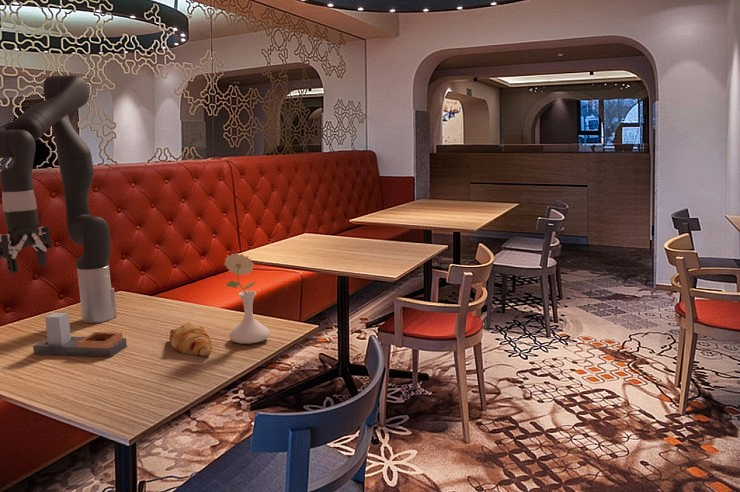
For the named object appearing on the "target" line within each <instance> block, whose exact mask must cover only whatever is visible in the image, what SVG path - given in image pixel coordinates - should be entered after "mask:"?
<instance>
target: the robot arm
mask: <svg viewBox="0 0 740 492" xmlns="http://www.w3.org/2000/svg"><path fill="white" fill-rule="evenodd" d="M89 88H90V87H89V85H88V83H87V82H86V80H85V78H83V77H81V76H80V75H77V74H75V75H74V74H68V75H67V74H66V75H65V74H64V75H52V76H51V75H50V76H47V77H46V78H45V79H44V82H43V86H42V89H43V96H44V101H42V102H39V103H36V104H35V105H32V106H30V107H29V108H27V109H26V110H25V111H24V112H22V113H21V114H20V115H19V116H18V117H16V118H15V120H14V119H13V120H12V121H9V122H7V123H4V124H3V125H1V126H0V158H1V159H14V161H13V164H12V166H9V167H6V168H3V169H1V170H0V185H1V195H2V197H1V199H2V209H3V216H4V224H5V227H6V228H7V233H5V234H3V233H2V234H0V258H1V259H5V260H6V265H7V269H8V272H9V273H10V274H17V273H19V266H18V260H17V255H18V254H19V252H20V251H21V250H22V248H27V247H33V248H34V249H35V250H36V252H35V253H36V261H37V265H38V266H40V267H44V266H46V265H47V262H48V261H47V250H48V249H51V248H52V247H53V244H52V239H51V234H50V229H49V228H50V227H49V226H42V225H41V226H40V225H39V223H40V222H39V214H38V205H37V199H36V196H35V191H34V184H33V177H32V176H33V175H32V174H33V167H34V160H35V154H36V151H37V149H36V148H37V146H36V141H38V140H39V139H41V138H42V136H44V135H45V134H46V133H47V131H49V130H50V129H51V128H52V131H53V136H54V141H55V146H56V153H57V155H56V156H57V161H58V166H59V171H60V172H59V173H60V176H61V181H62V182H61V183H62V188H63V195H64V200H65V213H66V214H65V215H66V229H67V234H68V237H69V239H70V240H71V241H72V242H73V243H75V244H77V245H81V246H83V252H82V255H81V256H80V257H77V259H76V264H75V265H76V270H77V271H76V272H77V279H78V281H77V282H78V290H79V299H80V301H79V302H80V309H81V318H82V322H84V323H86V324H89V323H90V324H95V323H103V322H108V321H110V320H112V319H114V318H117V317H118V315H117V305H116V304H117V303H116V296H115V295H116V294H115V289H114V287H112V283H111V272H110V262H109V261H110V258H111V252H112V251H111V249H112V248H111V233H110V231H111V230H110V226H109V224H108V222H107V221H106V220H105V219H104V218H103V217H100V216H95V215H91V213H90V206H89V194H90V189H91V187H92V184H93V179H94V173H95V172H94V163H93V158H92V152H91V150H90V148H89V146H88V145H87V143H86V142H85V141H84V139H83V138H82V136H80V135H79V133H78V132H77V131H76V130H75V127H73V125H72V123H71V120H70V117H69V115H70V114H71V113H72V112H74V111H76V110H78V109H80V108H81V107H83V106H84V105H86V104H87V102H88V101H89V99H90V98H89V97H90V89H89ZM38 225H39V227H38Z"/></svg>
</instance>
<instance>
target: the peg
mask: <svg viewBox="0 0 740 492" xmlns="http://www.w3.org/2000/svg"><path fill="white" fill-rule="evenodd" d="M69 317H70V316H69V312H52V313H51V314H48V315H46V316H45V317H44V320H45V321H44V322H45V327H46V328H45V329H46V335H47V336H46V339H47V338H48V345H64V344H66V343H68V342H69V341H71V336H72V335H71V327H70V326H71V325H70V318H69Z"/></svg>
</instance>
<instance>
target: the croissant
mask: <svg viewBox="0 0 740 492" xmlns="http://www.w3.org/2000/svg"><path fill="white" fill-rule="evenodd" d="M169 333H170V335H169V344H170V346H171V347H172V348H173V349H174V350H175V351H177V352H178V353H182V354H188V355H197V356H198V355H199V356H201V357H206V356H208V355H210V354H211V353H212V351H213V349H212V348H213V342H212V340H211V339H212V338H210V336H209V334H208V333H207V331H206V330H205V328H204V327H203V326H201V325H199V324H195V323H189V322H188V323H185V324H183V325H181V326H179V327H177V328H173V329H171V330H170V331H169Z"/></svg>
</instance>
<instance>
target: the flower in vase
mask: <svg viewBox="0 0 740 492" xmlns="http://www.w3.org/2000/svg"><path fill="white" fill-rule="evenodd" d="M224 261H225V262H224V265H225V267H226V269H228V271H229V272H230V273H232V274H236V275H237V277H236V281H235V280H229V281H228V282H227V283H226V285H225V287H229V288H232V289H233V288H234V289H237V288H238V287H240V289H241V290H242V291H240V292H238V297H240V298H241V301H242V304H243V311H244V316H243V319H242V321H241V322H239V323H238V324H237V325H236V326H235V327H234V328H233V329H232V330H231V331H230V332H229V334H228V337H229V339H230V341H232V342H235V343H237V344H244V345H245V344H247V345H248V344H256V343H260V342H262V341H265V340H266V339H268V338H269V337H270V336H271V332H270V329H268V328H267V327H266V326H265V325H264V324H262V323H260V322H259V321H258V320H257V319H255V317H254V314H253V307H254V306H253V304H254V303H253V302H254V299H255V296H256V295H257V292H256V291H255V290H253V291H252V290H248V289H249V288H251V287H253V286H254V284H255V283H256V281H252V282H250V283H248V284H247V285H245V287H244V288H243V286H242V284H241V283H240V280H239V276H240V275H241V276H243V275H244V276H245V275H248V274H249V273H253V270H254V267H255V265H254V262H252V259H251V258H249V256H247V255H246V256H245V255H244V253H236V252H235V253H232V254H230V255H227V257H225V260H224ZM246 289H247V290H246Z"/></svg>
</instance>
